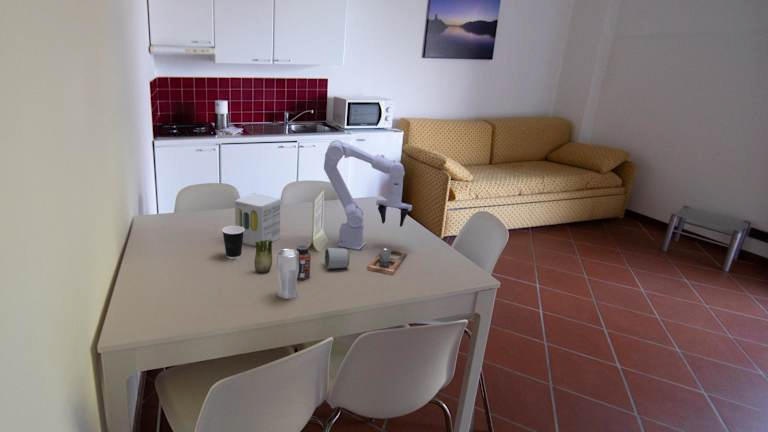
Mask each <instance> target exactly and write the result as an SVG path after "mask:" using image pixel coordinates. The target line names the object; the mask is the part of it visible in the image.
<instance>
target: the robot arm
mask: <svg viewBox="0 0 768 432" xmlns="http://www.w3.org/2000/svg"><path fill="white" fill-rule="evenodd" d="M343 156H344V159H348V158H355V159H358V160H360V161H363V162H366V163H369V164H370V165H371V168H372V169H375V170H377V171H378V172H382V173H384V174H386V175H389V179H388V188H387V189H388V190H387V199H386V200H385V199H377V200H376V204H375V205H376V206H378V207H377V210H378V212H379V215H380V218H381V224H384V223H386V219H387V218H386V215H387V214H386V213H387V208H395V209H400V211H399V212H400V223H399V228H400V227H403V225H404V222H405V220H406V217H407V216H408V213H409V212H411V211H412V209H413V205H412V204H409V203H404V202H402V198H403V197H402V196H403V187H404V186H403V185H404V182H403V181H404V177H405V174H406V173H405V168H404V165H403V164H402V163H401V162H400V161H396V160H394V159H393V160H392V159H389V158H387V157H385V155H384V154H376V155H372V154H371V153H368V152H366V151H364V150H362V149H360V148H358V147H356V146H354V145H352V144H349V143H348V142H343V141H340V140H337V139H335V140H332V141H331V142H330V143H329V145H328V147H327V149H326V152H325V153H324V162H323V170H324V172H325V174H326V175H327V178H328V180H329V182H330V184H331V186H332V187H333V189H334V192H335V193H336V195H337V197H338V199H339V201H340V202H341V205H342V207H343V209H344V213H345V215H346V221H347V222H343V223H341V224H340V227H339V233H338V234H339V235H338V244H337V245H338V247H342V248H345V249H353V250H357V251H359V250H361V249H362V248H363V247H364V246H365V245H366V241H365V242H364V241H363V238H364V225H365V224H364V223H363V222H364V220H363V219H364V217H363V216H364V212H363V209H362V208H361V207H360V206H358V204H357V202H356V201H355V200H354V199H353V197H352V195H351V192H350V190H349V188H348V186H347V184H346V183H345V180H344V178H343V177H342V175H341V172H340V170H339V169H338V164H339V162H340V160H342V158H343Z"/></svg>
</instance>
